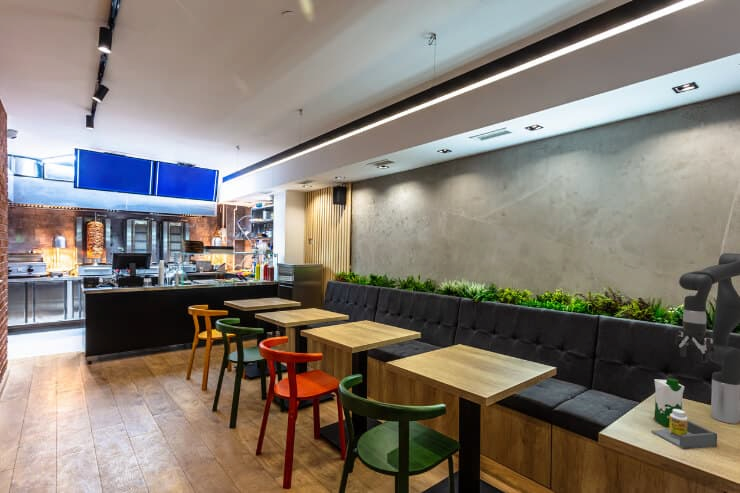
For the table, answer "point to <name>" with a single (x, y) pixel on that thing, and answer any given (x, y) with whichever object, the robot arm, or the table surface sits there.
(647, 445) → the table surface
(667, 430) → the corner arena
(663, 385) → the soya milk
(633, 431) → the table surface
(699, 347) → the robot arm
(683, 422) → the supplement bottle
